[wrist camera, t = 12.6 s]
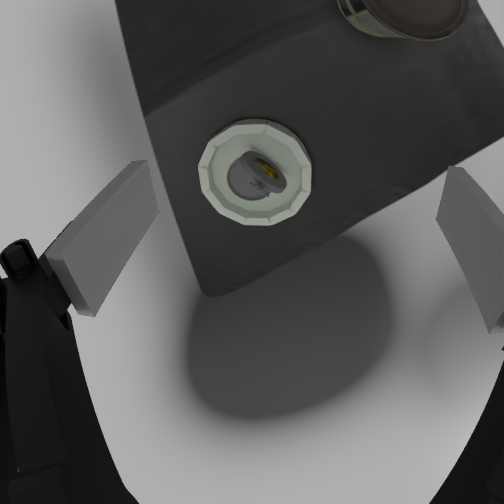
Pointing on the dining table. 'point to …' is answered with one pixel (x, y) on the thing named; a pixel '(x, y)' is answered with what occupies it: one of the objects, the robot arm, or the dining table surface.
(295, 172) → the dish
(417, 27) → the coffee can
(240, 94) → the dining table surface
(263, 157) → the pocket watch
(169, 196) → the dining table surface
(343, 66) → the dining table surface
